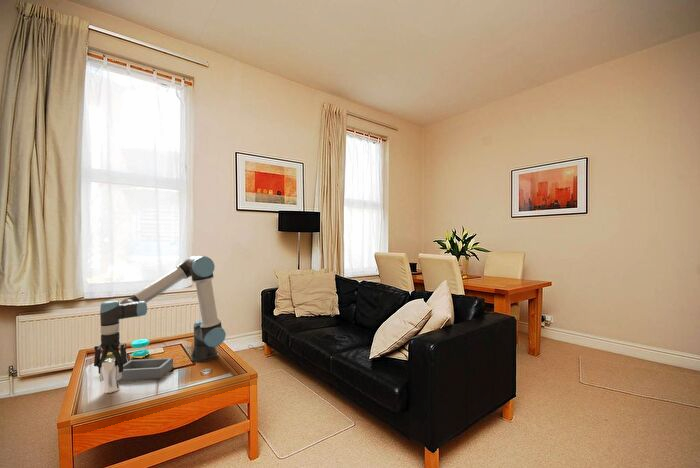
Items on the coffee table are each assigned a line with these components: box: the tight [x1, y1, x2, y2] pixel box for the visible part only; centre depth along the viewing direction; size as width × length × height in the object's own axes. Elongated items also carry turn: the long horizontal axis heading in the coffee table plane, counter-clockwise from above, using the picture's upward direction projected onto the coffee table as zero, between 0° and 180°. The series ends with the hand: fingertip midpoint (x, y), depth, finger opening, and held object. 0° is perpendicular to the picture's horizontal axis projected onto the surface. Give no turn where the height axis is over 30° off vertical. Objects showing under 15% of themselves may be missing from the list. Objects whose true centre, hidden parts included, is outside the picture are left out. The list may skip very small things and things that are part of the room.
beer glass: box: [102, 358, 120, 394], centre depth 163 cm, size 7×7×15 cm
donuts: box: [130, 338, 151, 357], centre depth 211 cm, size 10×10×10 cm
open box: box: [118, 357, 174, 383], centre depth 181 cm, size 23×15×6 cm, turn 96°
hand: (111, 379), depth 163 cm, fingers closed on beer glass, 7 cm apart
